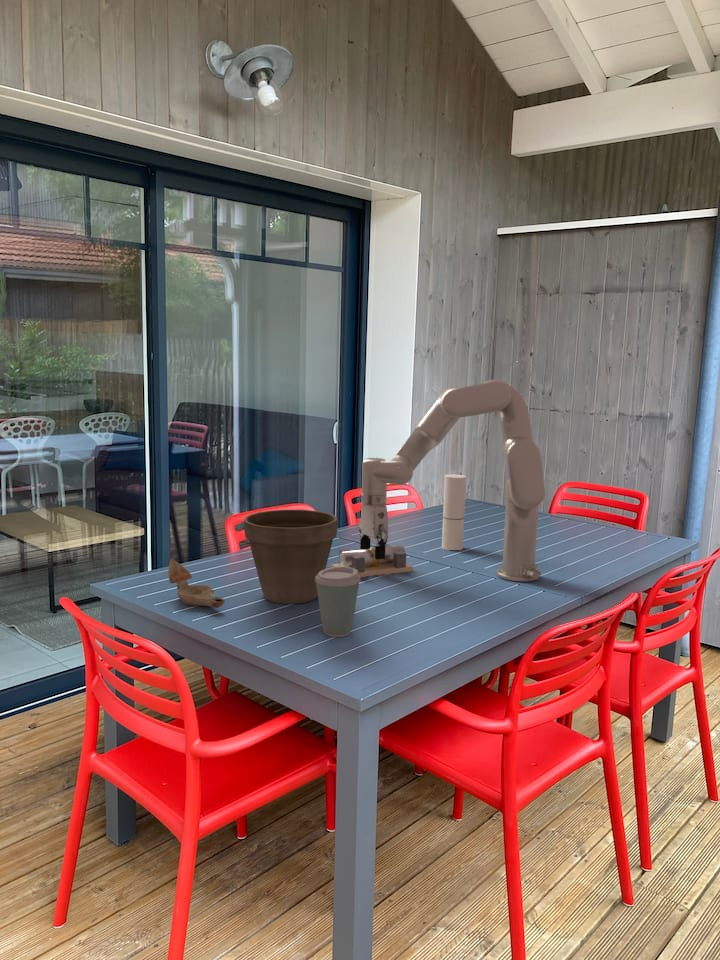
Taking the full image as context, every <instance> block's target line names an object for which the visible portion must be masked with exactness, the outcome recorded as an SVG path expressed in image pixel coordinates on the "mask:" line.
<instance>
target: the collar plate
mask: <svg viewBox="0 0 720 960" xmlns="http://www.w3.org/2000/svg"><path fill="white" fill-rule="evenodd" d="M391 546H392V545H390V544H386V546H385V547H391ZM346 551H352V550H351V549H350V548H342V549H341V548H340V549H338V557H339V556H340V553H341V552H346ZM332 567H341V565H340V561H339V560H338V563H331V565H330V568H332ZM352 568H355V569H356V570H358V575H360V578H367V577H366V576H369V577H375V576H374V575H377V576H383V575H382V574H385V575H392V574H391V573H394V574H399V573H400V574H401V572H402V573H409V572H414V566H413V565H411V564H409V563H407V552H406V551H405V552H403V551H401V552H394V560H393V563H387V564H378V565H373V566H365V558H364V557H363V556H354V557H352Z"/></svg>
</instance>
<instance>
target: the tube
mask: <svg viewBox="0 0 720 960" xmlns="http://www.w3.org/2000/svg"><path fill="white" fill-rule="evenodd" d="M390 546H391V547H385V558H384V559H375V547H372V548H371V547H370V549H364V550H360V549H355V550H351V551H346V552H341V553H340V556H339V555H338V562H339V561H340V565H341V567H345V566H347V567H351V568H352V557H354V556H363V557H364V558H365V566H373V565H378V564H387V563H393V560H394V552H401V551H403V552H405V553H406V549H405V547H404V546H403V545H402V544H400V545H393V546H392V545H390Z"/></svg>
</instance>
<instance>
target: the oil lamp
mask: <svg viewBox="0 0 720 960" xmlns="http://www.w3.org/2000/svg"><path fill="white" fill-rule="evenodd" d="M167 571H168V572H167V573H168V582H169V584H175V583H176V587H177V596H178V599H179V600H180V601H181V602H183V604H184V605H186V604H187V605H186V606H190V605H193V607H194V606H195V607H197V606H198V607H199V606H202V607H210V608H215V609H218V608H220V607H222V606H223V605H224V604H225V602H226V599H225V598H222V597H220V596H217V595H216V596H215V595H214V592H215V589H212V587H211V586H209V585H205V584H193V585H189V583H188V580H190V579H192V578H193V576H192V574H191V572H190V571H189V570H188V569H187V568H186V567H184V566H183V565H182V563H181V564H180V563H179V562H178V561H176V560H175V559H174V558H171V559H170V560H169V564H168V570H167Z"/></svg>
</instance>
